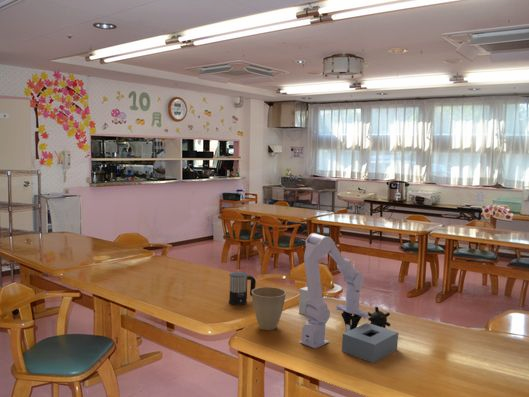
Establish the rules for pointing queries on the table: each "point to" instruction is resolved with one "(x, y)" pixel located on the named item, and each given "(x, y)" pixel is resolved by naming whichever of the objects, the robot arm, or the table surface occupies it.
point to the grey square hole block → (369, 342)
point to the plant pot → (268, 306)
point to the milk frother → (240, 287)
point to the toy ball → (379, 318)
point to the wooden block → (349, 326)
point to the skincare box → (303, 299)
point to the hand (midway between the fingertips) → (350, 330)
